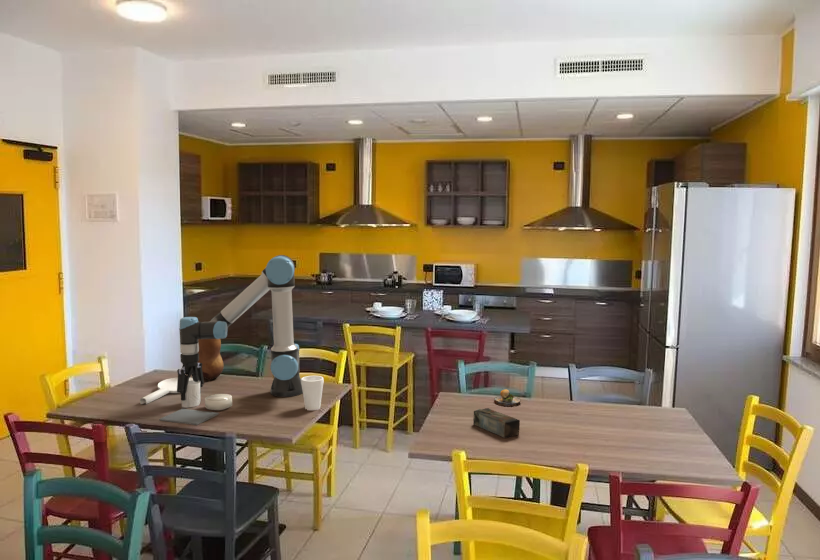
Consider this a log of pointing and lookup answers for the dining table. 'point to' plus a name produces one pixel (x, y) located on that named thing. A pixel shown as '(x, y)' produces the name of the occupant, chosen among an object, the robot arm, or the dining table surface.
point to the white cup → (193, 393)
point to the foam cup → (312, 391)
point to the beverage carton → (496, 422)
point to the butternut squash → (210, 358)
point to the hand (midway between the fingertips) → (191, 404)
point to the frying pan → (162, 390)
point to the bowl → (218, 401)
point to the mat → (189, 416)
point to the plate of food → (506, 399)
